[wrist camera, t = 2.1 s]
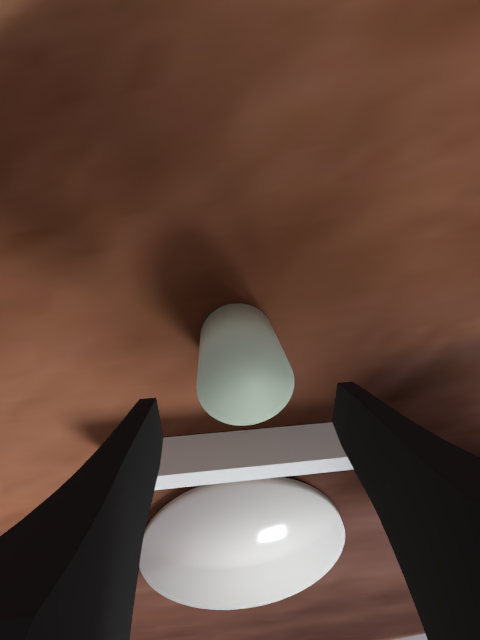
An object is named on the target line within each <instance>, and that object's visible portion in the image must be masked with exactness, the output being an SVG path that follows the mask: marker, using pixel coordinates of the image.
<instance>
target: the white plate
mask: <svg viewBox="0 0 480 640" xmlns="http://www.w3.org/2000/svg"><path fill="white" fill-rule="evenodd" d="M344 543H345V529H344V525H343V523H342V520H341V517H340V515H339V512H338V510H337V508H336V507H335V505H334V504H333V502H332V501H331V500H330V499H329V498H328V497H327V496H326V495H325V494H323V493H322V492H321V491H319V490H318V489H316V488H314V487H312V486H310V485H308V484H306V483H303V482H300V481H298V480H294V479H290V478H285V477H277V478H268V479H258V480H248V481H239V482H229V483H220V484H210V485H201V486H198V487H195V488H193V489H191V490H189V491H187V492H185V493H183V494H181V495H179V496H178V497H176V498H174V499H173V500H171V501H170V502H169V503H167V504H166V505H165V506H164V507H162V508H161V509H160V510H159V511H158V512H157V513H156V514H155V515H154V517H153V518H152V519H151V521H150V522H149V523H148V525H147V527H146V529H145V533H144V538H143V543H142V549H141V556H140V563H139V567H140V570H141V573H142V575H143V577H144V578H145V580H146V581H147V583H148V584H149V585H150V586H151V587H152V588H153V589H154V590H155V591H157V592H158V593H160V594H161V595H163V596H165V597H166V598H168V599H170V600H173V601H175V602H178V603H180V604H184V605H187V606H191V607H197V608H203V609H212V610H233V609H244V608H251V607H257V606H261V605H265V604H270V603H273V602H276V601H279V600H282V599H285V598H287V597H290V596H292V595H294V594H296V593H298V592H300V591H302V590H304V589H306V588H307V587H309V586H311V585H312V584H314V583H315V582H316V581H318V580H319V579H320V578H322V577H323V576H324V575H325V574H326V573H327V572H328V571H329V570H330V569H331V568H332V567H333V565H334V564H335V563H336V561H337V560H338V558H339V556H340V554H341V552H342V550H343V546H344Z"/></svg>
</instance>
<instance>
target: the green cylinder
mask: <svg viewBox="0 0 480 640" xmlns="http://www.w3.org/2000/svg"><path fill="white" fill-rule="evenodd" d="M293 390H294V374H293V371H292V368H291V366H290V364H289V362H288V359H287V357H286V355H285V353H284V351H283V349H282V347H281V345H280V342H279V340H278V338H277V336H276V334H275V332H274V330H273V328H272V326H271V323H270V321H269V320H268V318H267V317H266V315H265V314H264V313H263V312H262V311H260V310H259V309H257V308H256V307H254V306H251V305H248V304H242V303H234V304H228V305H225V306H222V307H220V308H218V309H216V310H215V311H214V312H212V313H211V314H210V315H209V316H208V317H207V319H206V320H205V322H204V324H203V326H202V329H201V334H200V346H199V360H198V374H197V396H198V399H199V402H200V404H201V406H202V407H203V408H204V410H205V411H206V412H207V413H208V414H209V415H210V416H212V417H213V418H215V419H217V420H218V421H221V422H223V423H226V424H230V425H238V426H246V425H254V424H258V423H261V422H264V421H266V420H268V419H270V418H272V417H273V416H275V415H276V414H278V413H279V412H280V411H281V410H282V409H283V408H284V407H285V406H286V405H287V403H288V402H289V400H290V398H291V396H292V393H293Z"/></svg>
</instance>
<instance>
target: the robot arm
mask: <svg viewBox="0 0 480 640" xmlns="http://www.w3.org/2000/svg"><path fill="white" fill-rule="evenodd" d="M332 423H333V425H334V428H335V431H336V434H337V436H338V439H339V441H340V443H341V446H342V448H343V450H344V452H345V454H346V455H347V457H348V459H349V461H350V463H351V465H352V467H353V469H354V470H355V472H356V474H357V476H358V478H359V480H360V481H361V483H362V485H363V487H364V489H365V491H366V492H367V494H368V496H369V498H370V500H371V502H372V504H373V506H374V508H375V510H376V512H377V514H378V516H379V518H380V520H381V523H382V525H383V527H384V530H385V532H386V534H387V536H388V539H389V541H390V543H391V546H392V548H393V551H394V553H395V555H396V558H397V560H398V563H399V565H400V568H401V570H402V573H403V575H404V577H405V580H406V583H407V585H408V588H409V590H410V593H411V596H412V598H413V601H414V603H415V606H416V609H417V611H418V614H419V616H420V619H421V622H422V625H423V627H424V630H425V633H426V636H427V639H428V640H480V458H479V457H477V456H475V455H473V454H471V453H469V452H467V451H465V450H463V449H461V448H459V447H457V446H455V445H453V444H451V443H449V442H447V441H445V440H444V439H442V438H440V437H438V436H436V435H434V434H433V433H431V432H429V431H428V430H426V429H424V428H423V427H421V426H419V425H418V424H416V423H414V422H413V421H411V420H409V419H408V418H406V417H405V416H403V415H401V414H400V413H398V412H397V411H395V410H394V409H392V408H391V407H389V406H388V405H386V404H385V403H383V402H382V401H380V400H379V399H377V398H376V397H375V396H373V395H372V394H370V393H369V392H367V391H366V390H364V389H363V388H361V387H360V386H358V385H357V384H355V383H353V382H343V383H338V384H337V391H336V399H335V406H334V413H333V421H332ZM162 446H163V433H162V428H161V422H160V417H159V411H158V405H157V400H156V398H148V399H140V400H139V401H138V402H137V403H136V404H135V406H134V407H133V408H132V409H131V411H130V412H129V413H128V414H127V416H126V417H125V418H124V419H123V421H122V422H121V423H120V424H119V425H118V427H117V428H116V429H115V430H114V431H113V433H112V434H111V435H110V436H109V437H108V438H107V440H106V441H105V442H104V443H103V444H102V445H101V446H100V448H99V449H98V450H97V451H96V452H95V453H94V454H93V455H92V456H91V457H90V458H89V459H88V460H87V461H86V463H85V464H84V465H83V466H82V467H81V468H80V469H79V470H78V471H77V472H76V473H75V474H74V475H73V476H72V477H71V478H70V479H69V480H67V481H66V482H65V483H64V484H63V485H62V486H61V487H60V488H59V489H58V490H57V491H56V492H54V493H53V494H52V495H51V496H50V497H49V498H47V499H46V500H45V501H44V502H43V503H41V504H40V505H39V506H38V507H37V508H35V509H34V510H33V511H32V512H31V513H29V514H28V515H27V516H26V517H25V518H23V519H22V520H21V521H20V522H18V523H17V524H16V525H15V526H13V527H12V528H11V529H9V530H8V531H7V532H6V533H4V534H3V535H2V536H0V640H129V639H130V630H131V622H132V614H133V606H134V599H135V592H136V584H137V577H138V570H139V563H140V556H141V549H142V543H143V538H144V533H145V528H146V523H147V519H148V515H149V511H150V506H151V502H152V498H153V494H154V489H155V485H156V481H157V477H158V472H159V468H160V462H161V454H162Z"/></svg>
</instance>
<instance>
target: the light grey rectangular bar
mask: <svg viewBox="0 0 480 640" xmlns="http://www.w3.org/2000/svg"><path fill="white" fill-rule="evenodd" d="M344 470H354V469H353V467H352V465H351V463H350V461H349V459H348V457H347V455H346V454H345V452H344V450H343V448H342V446H341V443H340V441H339V439H338V436H337V434H336V431H335V428H334V425H333V423H332V422H329V423H318V424H307V425H296V426H285V427H274V428H263V429H252V430H241V431H230V432H219V433H208V434H197V435H186V436H175V437H164V438H163V446H162V454H161V462H160V468H159V472H158V477H157V481H156V485H155V489H154V490H162V489H172V488H181V487H191V486H200V485H210V484H220V483H229V482H239V481H248V480H258V479H268V478H277V477H287V476H296V475H306V474H316V473H325V472H335V471H344Z"/></svg>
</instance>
